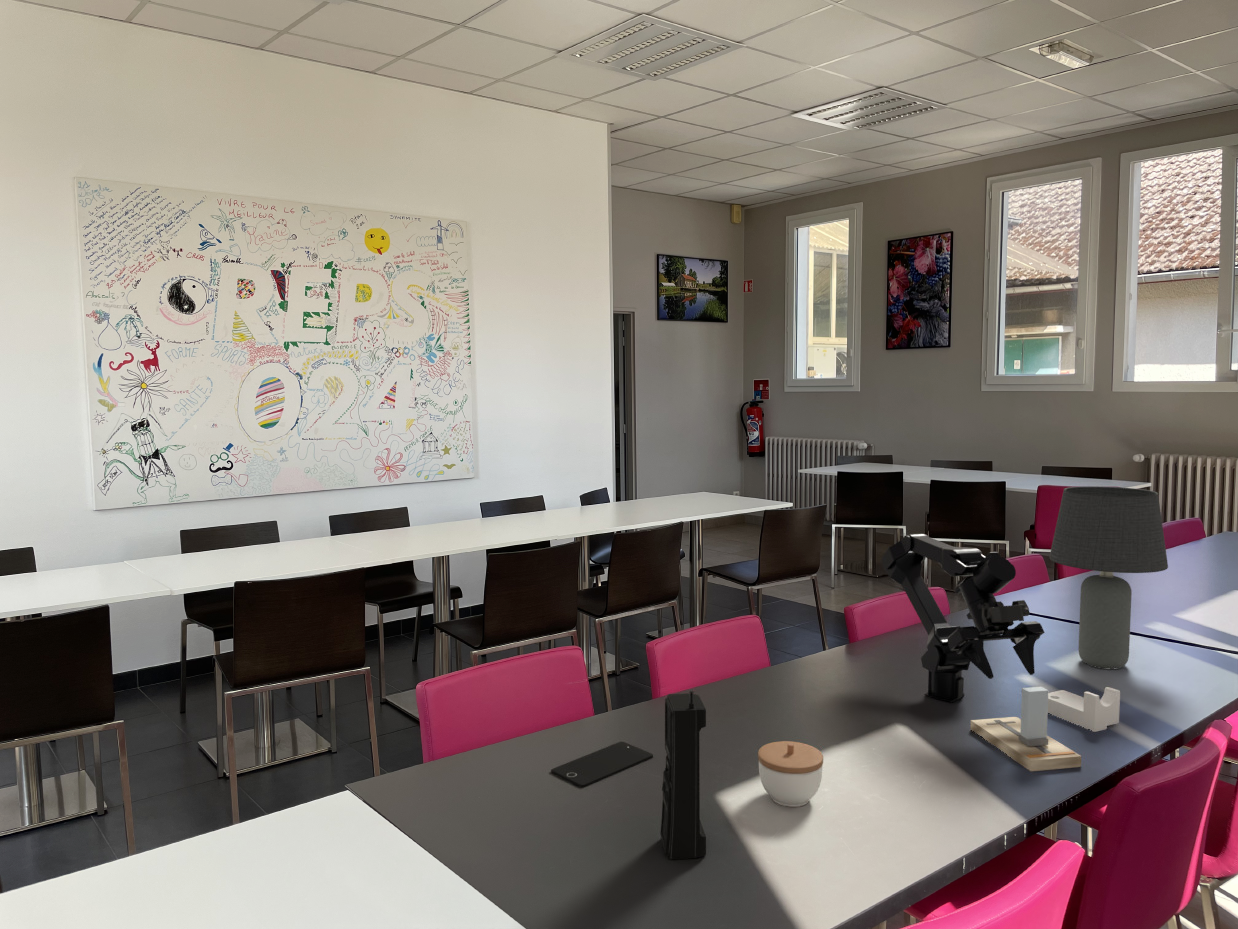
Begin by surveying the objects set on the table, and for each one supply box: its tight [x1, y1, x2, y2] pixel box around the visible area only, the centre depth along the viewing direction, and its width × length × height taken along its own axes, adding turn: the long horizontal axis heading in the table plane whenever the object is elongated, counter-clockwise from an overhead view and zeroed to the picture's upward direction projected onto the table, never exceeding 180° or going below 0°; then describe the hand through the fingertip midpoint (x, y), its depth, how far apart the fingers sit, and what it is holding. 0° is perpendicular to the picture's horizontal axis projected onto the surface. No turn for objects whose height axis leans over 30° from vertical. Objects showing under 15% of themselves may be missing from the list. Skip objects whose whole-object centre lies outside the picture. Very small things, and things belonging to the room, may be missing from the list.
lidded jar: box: [757, 740, 824, 808], centre depth 144 cm, size 11×11×9 cm
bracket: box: [1048, 686, 1121, 733], centre depth 178 cm, size 13×7×8 cm, turn 24°
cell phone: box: [550, 741, 654, 789], centre depth 158 cm, size 9×18×1 cm, turn 134°
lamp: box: [1048, 485, 1169, 670], centre depth 210 cm, size 25×25×43 cm
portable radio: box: [660, 690, 707, 860], centre depth 129 cm, size 8×6×25 cm
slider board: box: [970, 716, 1082, 772], centre depth 163 cm, size 19×10×2 cm, turn 9°
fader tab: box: [1019, 686, 1049, 746], centre depth 160 cm, size 3×4×10 cm
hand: (1012, 676), depth 169 cm, fingers open, 9 cm apart
